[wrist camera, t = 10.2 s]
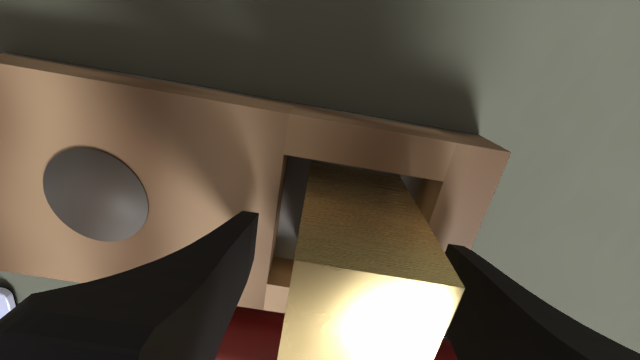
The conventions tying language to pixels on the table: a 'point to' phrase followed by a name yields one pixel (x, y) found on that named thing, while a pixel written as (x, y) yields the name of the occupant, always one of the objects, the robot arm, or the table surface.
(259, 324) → the hardcover book
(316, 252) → the brass peg
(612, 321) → the table surface
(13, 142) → the bore block
